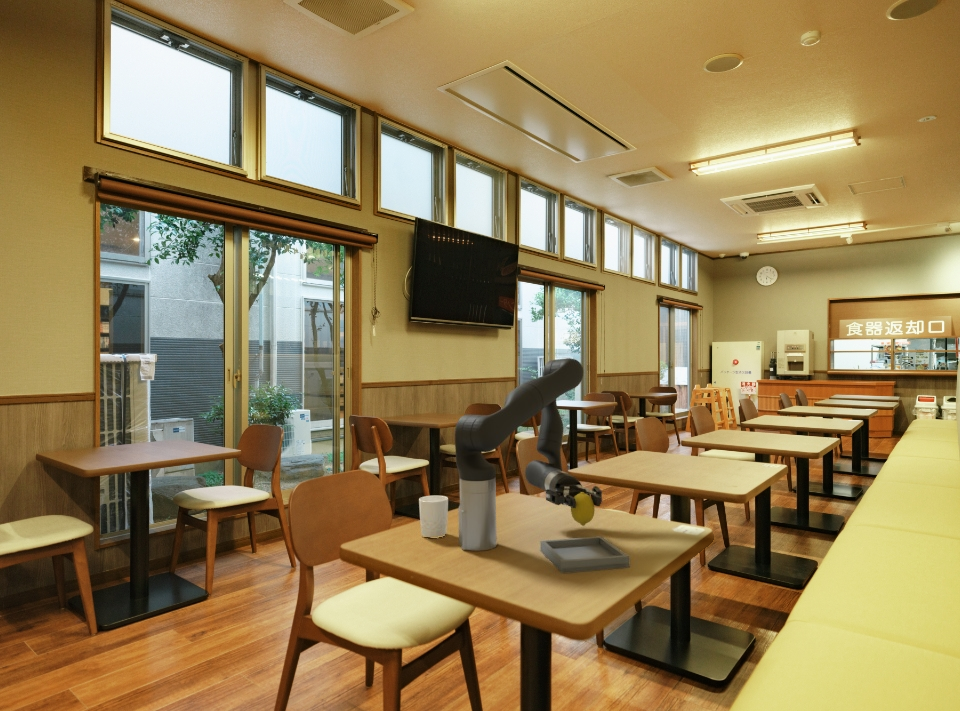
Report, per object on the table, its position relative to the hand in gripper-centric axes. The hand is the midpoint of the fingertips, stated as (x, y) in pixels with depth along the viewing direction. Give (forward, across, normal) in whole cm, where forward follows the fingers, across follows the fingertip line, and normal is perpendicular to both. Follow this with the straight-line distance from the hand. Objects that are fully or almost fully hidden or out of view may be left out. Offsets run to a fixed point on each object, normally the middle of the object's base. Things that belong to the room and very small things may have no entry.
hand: (586, 502), depth 138 cm
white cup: (-30, -32, +14) cm, 46 cm away
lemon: (-3, 0, +6) cm, 7 cm away
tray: (-2, 0, +14) cm, 14 cm away
